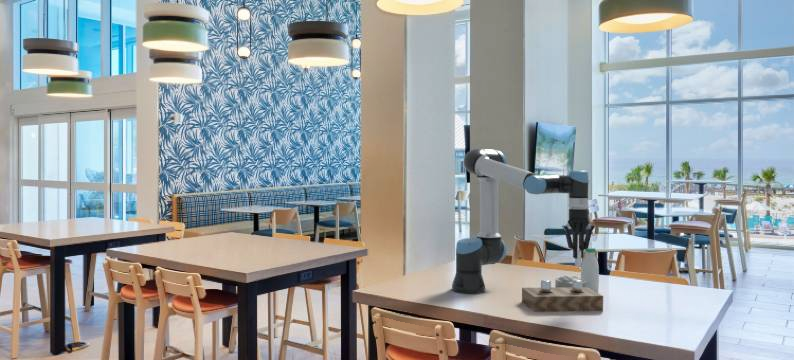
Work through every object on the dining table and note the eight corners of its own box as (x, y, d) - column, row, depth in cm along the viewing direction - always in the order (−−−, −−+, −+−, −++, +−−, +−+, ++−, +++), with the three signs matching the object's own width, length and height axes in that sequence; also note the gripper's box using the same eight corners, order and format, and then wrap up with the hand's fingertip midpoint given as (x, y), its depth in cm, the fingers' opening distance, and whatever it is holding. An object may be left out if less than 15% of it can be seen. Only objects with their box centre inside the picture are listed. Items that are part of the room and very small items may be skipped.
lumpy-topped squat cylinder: (576, 301, 243) (576, 281, 243) (549, 295, 253) (550, 276, 252) (589, 297, 250) (589, 278, 250) (562, 292, 260) (563, 273, 259)
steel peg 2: (574, 295, 232) (574, 281, 232) (570, 293, 236) (570, 279, 236) (583, 295, 232) (583, 281, 232) (579, 293, 236) (579, 279, 236)
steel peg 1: (542, 296, 231) (542, 281, 231) (539, 294, 235) (539, 279, 235) (552, 296, 231) (552, 281, 231) (548, 293, 235) (549, 279, 235)
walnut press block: (533, 311, 225) (534, 296, 225) (521, 301, 241) (522, 287, 240) (602, 311, 227) (603, 295, 227) (586, 301, 243) (586, 287, 243)
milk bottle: (599, 294, 257) (600, 249, 256) (581, 293, 258) (582, 248, 258) (597, 290, 264) (598, 247, 264) (579, 289, 266) (580, 246, 265)
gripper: (566, 209, 229) (565, 267, 229) (597, 209, 230) (597, 267, 230) (559, 207, 236) (559, 264, 237) (590, 207, 237) (589, 264, 238)
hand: (578, 266), depth 234 cm, fingers closed
